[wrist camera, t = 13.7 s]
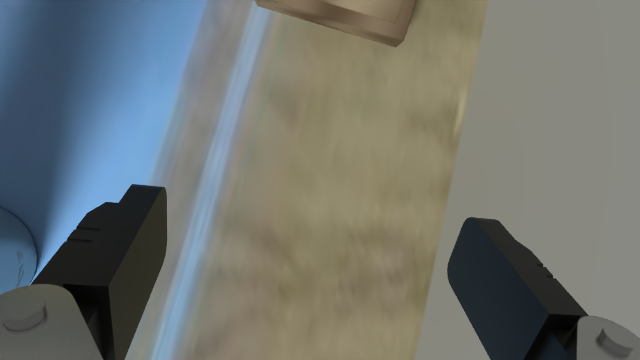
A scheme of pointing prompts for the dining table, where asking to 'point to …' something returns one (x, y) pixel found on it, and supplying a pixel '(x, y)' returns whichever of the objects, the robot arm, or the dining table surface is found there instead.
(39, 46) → the dining table surface
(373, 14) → the tray
